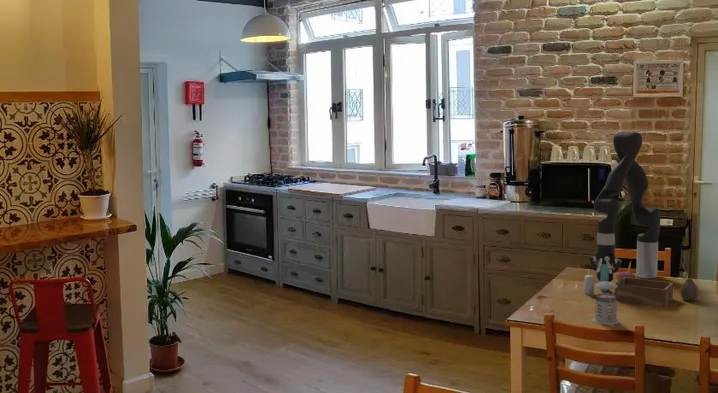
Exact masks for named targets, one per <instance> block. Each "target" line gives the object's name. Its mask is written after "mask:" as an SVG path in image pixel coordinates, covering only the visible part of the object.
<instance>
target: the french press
mask: <svg viewBox="0 0 718 393" xmlns="http://www.w3.org/2000/svg"><path fill="white" fill-rule="evenodd" d="M605 260H610V258H609V257H605ZM594 287H595V288H598V289H599V290H600V289H606V291H605V293H598V294H596V298H595V299H594V300H595V301H594V304H595V306H594V308H595V309H594V317H593V318H592V319H591V321H592V322H594V323H596V324H599V325H600V324H601V325H609V326H610V325H616V324H619V323H620V321H619V319H618V318H617V315H618V314H617V312H618V311H617V310H618V308H617V306H618V302H617V301H618V300H616V299H615V298H616V296H615V292H612V293H611V294H610V292H609V291H607V289H610V290H615V289H616V288H617V287H618V286H617V285H616V284H615V283H614V282H612V281H611V282H608V281H607V270H606V281H603V282H600V281H599V282H598V283H596V284H594Z"/></svg>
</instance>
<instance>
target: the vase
mask: <svg viewBox="0 0 718 393" xmlns="http://www.w3.org/2000/svg"><path fill="white" fill-rule="evenodd" d="M679 291H680V292H679V293H680V297H681V299H683V300H684V301H686V302H694V301H695V300H697V299H698V296H699V288H698V286H697V284H696V283H695V281H694V280H693V279H692V278H687V279H686V280H685V281H684V283H682V285H681V287H680V290H679Z"/></svg>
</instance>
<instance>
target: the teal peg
mask: <svg viewBox="0 0 718 393" xmlns="http://www.w3.org/2000/svg"><path fill="white" fill-rule="evenodd" d="M606 270H607V281H608V282H609V269H608V267H607V264H601V272H600V281H599V282H603V281H606ZM610 290H611V289H607V292H609V291H610ZM599 291H602V292H606V289H600V288H599Z"/></svg>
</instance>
